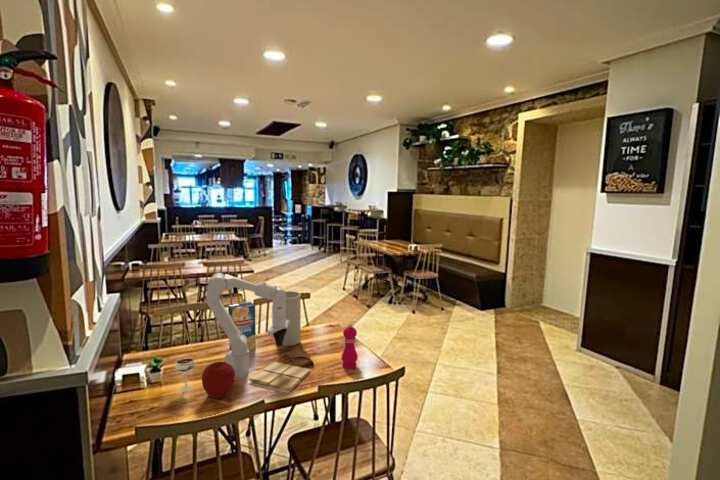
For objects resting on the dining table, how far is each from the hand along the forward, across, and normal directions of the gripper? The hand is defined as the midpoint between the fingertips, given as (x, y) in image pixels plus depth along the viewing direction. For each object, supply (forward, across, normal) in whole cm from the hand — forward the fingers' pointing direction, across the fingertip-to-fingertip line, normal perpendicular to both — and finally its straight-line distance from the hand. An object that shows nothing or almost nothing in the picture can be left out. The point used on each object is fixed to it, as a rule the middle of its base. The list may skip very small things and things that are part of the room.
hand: (279, 345), depth 166 cm
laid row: (+10, -3, -5) cm, 12 cm away
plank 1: (+10, -12, -1) cm, 15 cm away
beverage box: (+11, +10, +27) cm, 31 cm away
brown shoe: (+11, +10, -4) cm, 15 cm away
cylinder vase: (+11, +26, +11) cm, 30 cm away
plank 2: (+10, -12, -10) cm, 18 cm away
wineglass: (+11, -29, +24) cm, 39 cm away
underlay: (+10, -8, -5) cm, 14 cm away
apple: (+11, -28, +9) cm, 31 cm away
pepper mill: (+11, +13, -28) cm, 33 cm away
